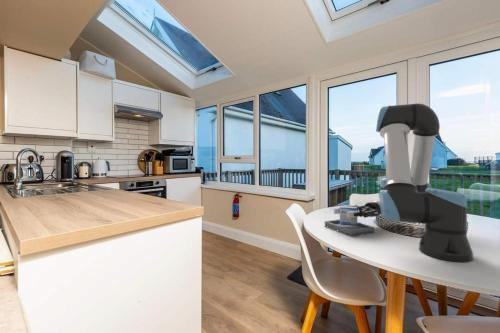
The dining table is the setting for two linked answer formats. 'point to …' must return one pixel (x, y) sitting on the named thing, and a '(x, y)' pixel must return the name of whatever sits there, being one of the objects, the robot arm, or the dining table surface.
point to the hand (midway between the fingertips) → (340, 213)
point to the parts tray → (350, 228)
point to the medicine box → (343, 216)
